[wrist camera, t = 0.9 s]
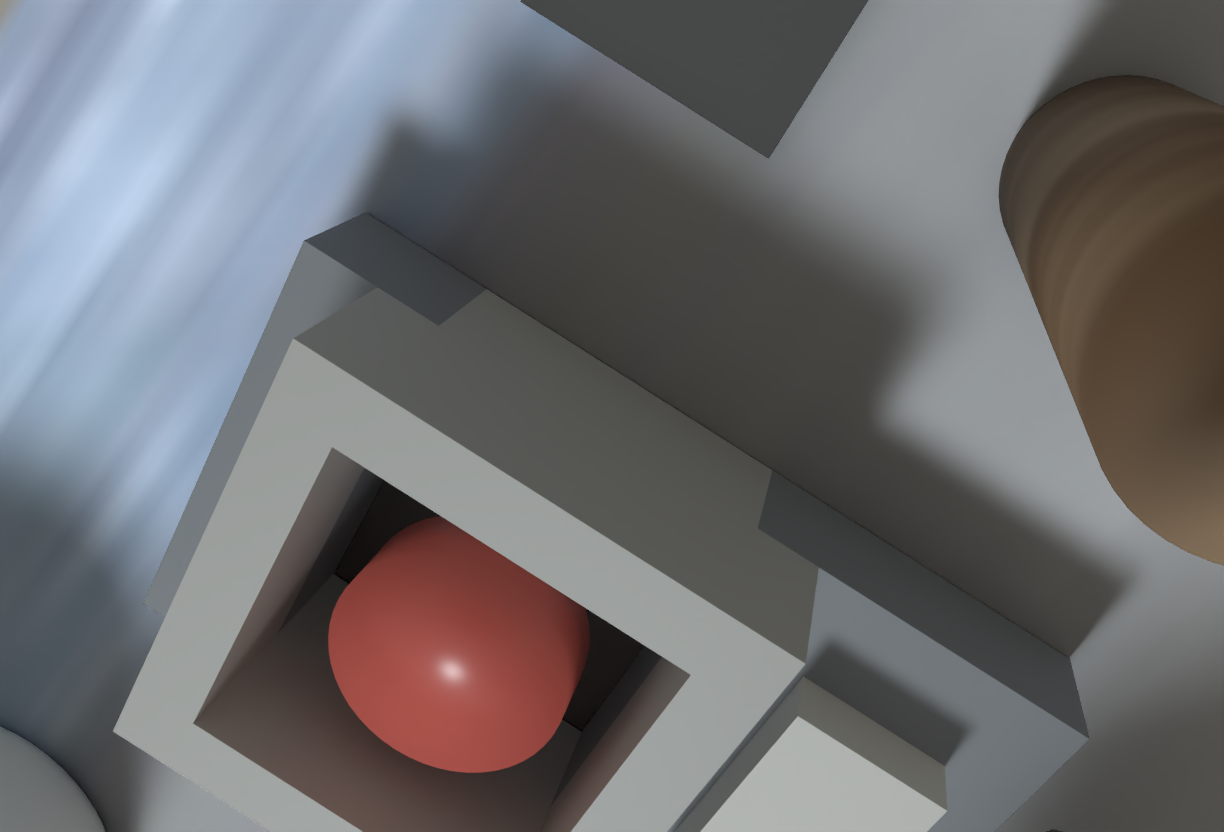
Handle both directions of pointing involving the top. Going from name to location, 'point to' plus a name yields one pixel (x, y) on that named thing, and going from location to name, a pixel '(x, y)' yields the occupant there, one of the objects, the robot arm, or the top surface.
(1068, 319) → the dowel
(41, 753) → the mug
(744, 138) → the pad
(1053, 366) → the top surface
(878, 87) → the top surface
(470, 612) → the red dome cap
